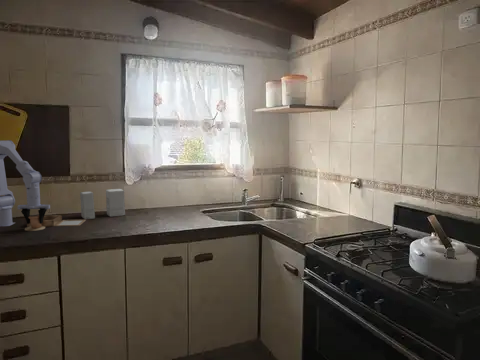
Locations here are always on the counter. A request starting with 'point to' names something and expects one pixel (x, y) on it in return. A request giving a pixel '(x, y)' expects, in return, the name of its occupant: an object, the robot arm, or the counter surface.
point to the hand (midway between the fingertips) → (34, 223)
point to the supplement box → (115, 202)
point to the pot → (34, 221)
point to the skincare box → (87, 205)
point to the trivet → (34, 228)
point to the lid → (70, 223)
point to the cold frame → (50, 220)
